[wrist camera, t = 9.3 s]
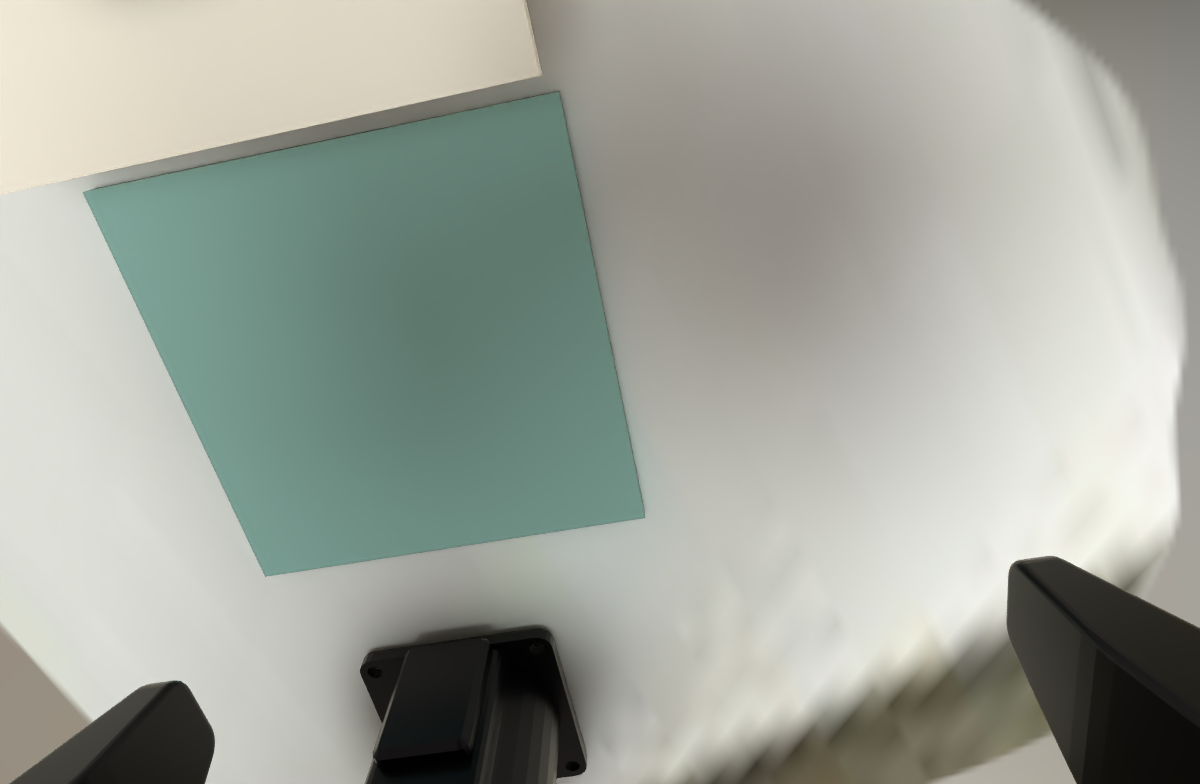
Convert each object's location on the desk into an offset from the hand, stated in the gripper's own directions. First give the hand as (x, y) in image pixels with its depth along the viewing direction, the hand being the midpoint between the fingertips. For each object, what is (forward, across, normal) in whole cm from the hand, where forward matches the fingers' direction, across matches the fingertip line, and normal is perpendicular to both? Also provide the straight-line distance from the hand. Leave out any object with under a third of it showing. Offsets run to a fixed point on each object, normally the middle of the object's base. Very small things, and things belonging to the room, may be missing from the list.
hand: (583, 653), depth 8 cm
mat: (+13, +6, +1) cm, 14 cm away
